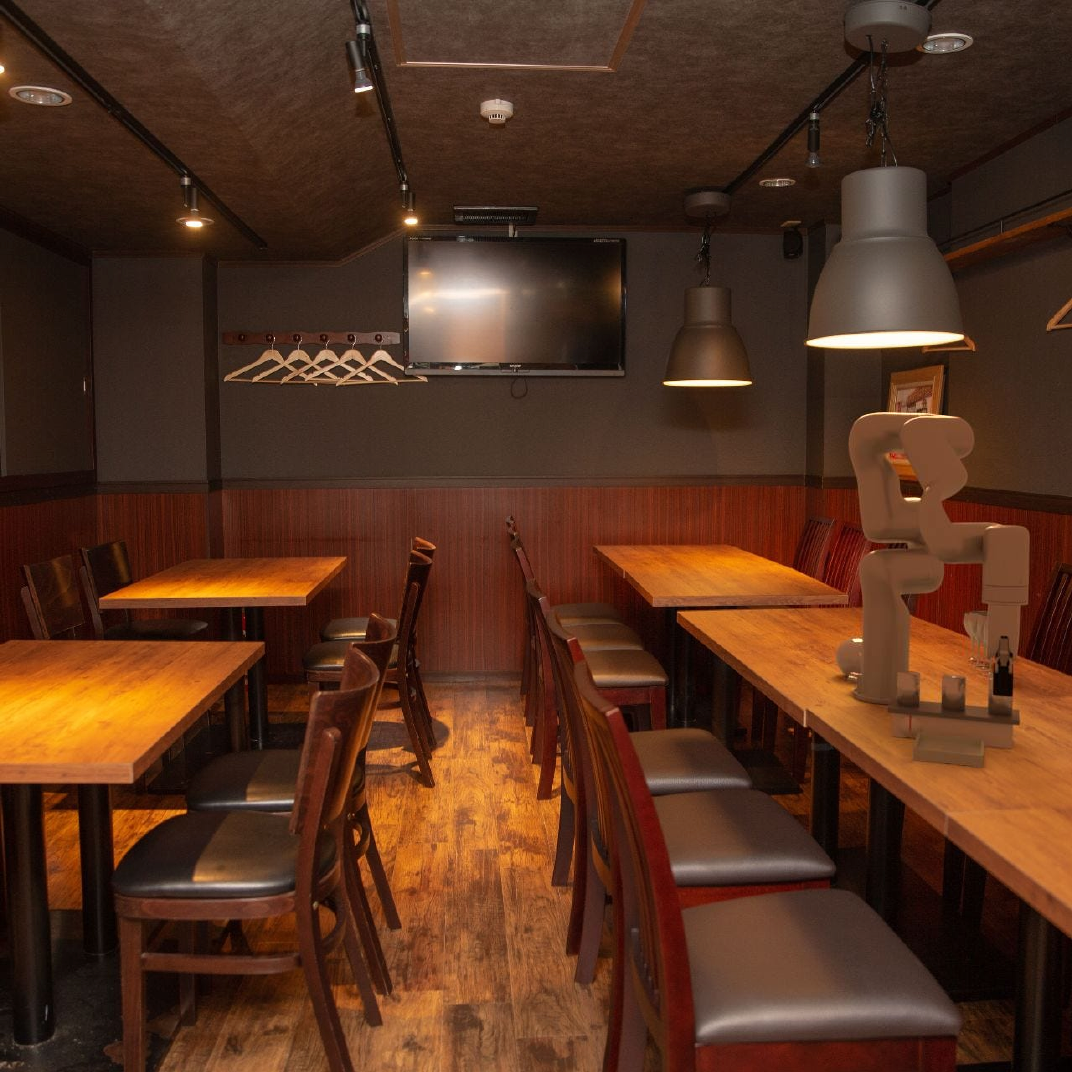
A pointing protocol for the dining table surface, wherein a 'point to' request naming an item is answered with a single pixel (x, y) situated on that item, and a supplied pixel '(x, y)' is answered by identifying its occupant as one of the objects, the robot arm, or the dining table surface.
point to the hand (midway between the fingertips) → (1002, 690)
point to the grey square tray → (949, 749)
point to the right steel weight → (999, 703)
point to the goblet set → (977, 634)
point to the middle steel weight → (953, 692)
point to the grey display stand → (954, 723)
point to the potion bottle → (850, 656)
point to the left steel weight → (908, 688)
